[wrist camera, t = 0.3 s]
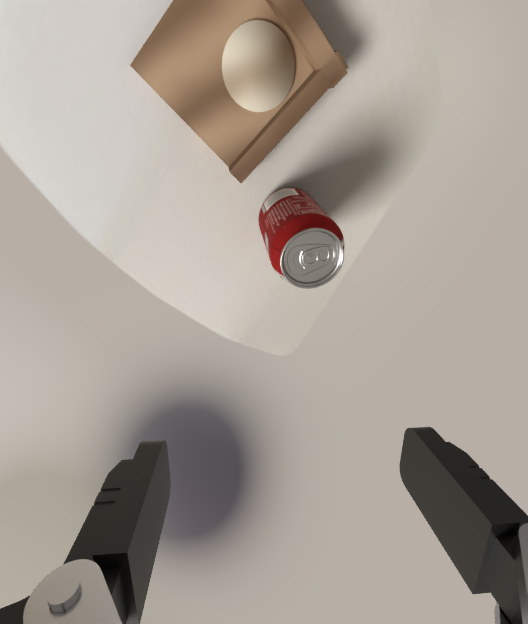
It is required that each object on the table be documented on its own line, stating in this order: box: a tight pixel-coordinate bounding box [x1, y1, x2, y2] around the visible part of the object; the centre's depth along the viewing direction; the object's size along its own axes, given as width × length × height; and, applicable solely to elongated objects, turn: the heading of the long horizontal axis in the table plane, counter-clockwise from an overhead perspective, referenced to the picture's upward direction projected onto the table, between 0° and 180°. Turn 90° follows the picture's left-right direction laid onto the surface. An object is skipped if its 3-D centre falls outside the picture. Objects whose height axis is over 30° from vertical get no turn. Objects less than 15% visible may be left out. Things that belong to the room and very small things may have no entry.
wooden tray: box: [130, 0, 348, 183], centre depth 27 cm, size 13×13×4 cm
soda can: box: [259, 188, 344, 288], centre depth 32 cm, size 7×7×12 cm
